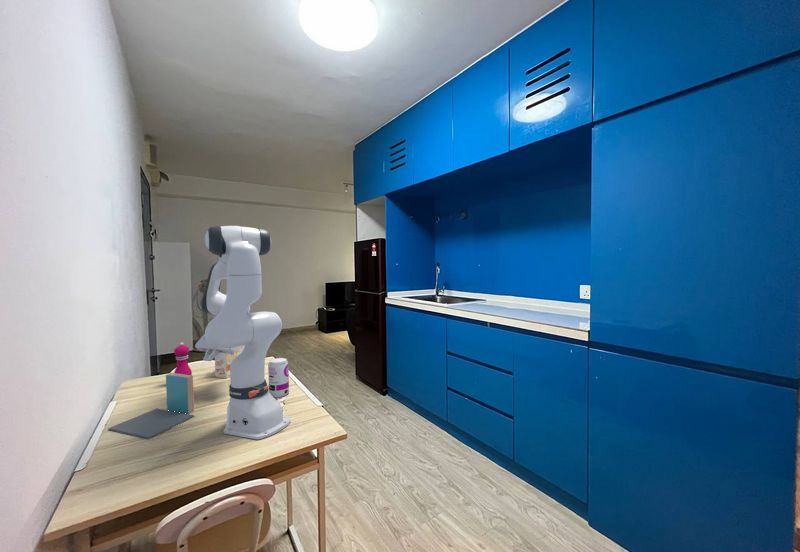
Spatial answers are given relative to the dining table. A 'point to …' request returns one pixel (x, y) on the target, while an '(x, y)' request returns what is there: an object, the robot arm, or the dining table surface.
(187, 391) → the tile
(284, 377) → the supplement can
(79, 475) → the dining table surface
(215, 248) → the robot arm
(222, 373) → the coffeecake box
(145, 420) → the mat
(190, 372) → the pepper mill
